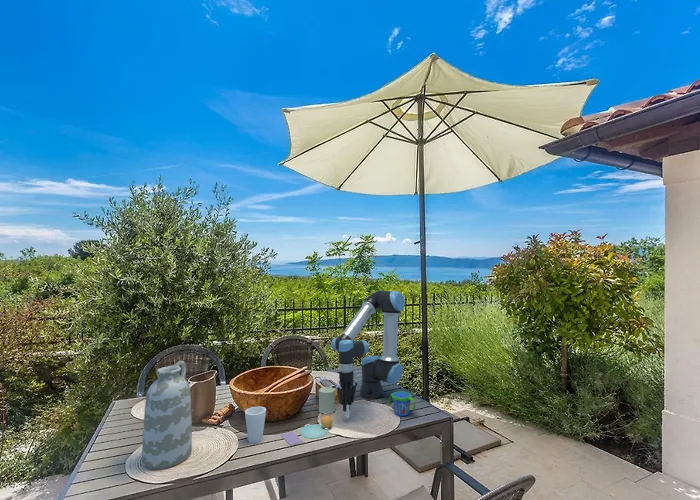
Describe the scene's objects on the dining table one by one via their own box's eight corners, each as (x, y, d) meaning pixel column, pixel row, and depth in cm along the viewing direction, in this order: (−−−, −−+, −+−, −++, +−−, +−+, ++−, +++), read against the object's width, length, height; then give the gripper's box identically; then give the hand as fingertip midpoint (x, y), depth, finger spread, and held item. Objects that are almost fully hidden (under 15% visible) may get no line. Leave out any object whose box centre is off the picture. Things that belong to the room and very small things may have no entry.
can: (336, 407, 193) (336, 386, 193) (333, 414, 183) (333, 392, 184) (320, 407, 193) (320, 385, 194) (317, 414, 184) (317, 391, 185)
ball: (322, 428, 170) (330, 419, 173) (328, 432, 166) (336, 423, 169) (317, 420, 169) (325, 411, 172) (322, 424, 164) (330, 415, 167)
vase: (172, 472, 133) (174, 372, 135) (130, 468, 136) (132, 371, 138) (202, 445, 152) (204, 359, 155) (165, 442, 155) (167, 358, 158)
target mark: (319, 422, 175) (319, 421, 175) (334, 432, 163) (334, 432, 163) (294, 429, 167) (294, 429, 167) (307, 441, 155) (307, 440, 155)
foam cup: (246, 446, 151) (247, 416, 152) (243, 437, 160) (243, 409, 160) (268, 441, 156) (268, 412, 157) (263, 432, 164) (263, 405, 165)
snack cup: (384, 412, 185) (383, 393, 185) (395, 407, 193) (395, 388, 193) (408, 421, 174) (408, 401, 175) (419, 414, 182) (419, 395, 182)
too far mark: (291, 431, 165) (291, 431, 165) (302, 441, 155) (302, 441, 155) (280, 435, 161) (280, 434, 161) (290, 445, 152) (290, 445, 152)
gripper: (339, 374, 170) (340, 423, 169) (360, 370, 177) (361, 416, 176) (331, 371, 176) (332, 417, 175) (352, 367, 184) (353, 411, 182)
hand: (346, 417), depth 176 cm, fingers closed
